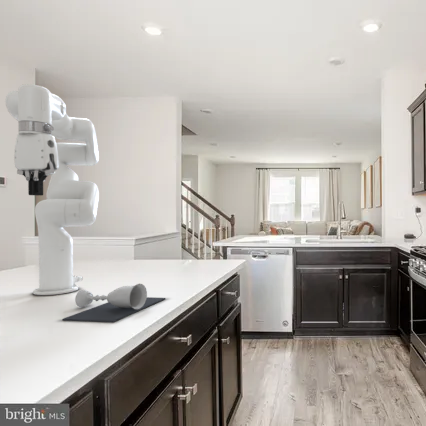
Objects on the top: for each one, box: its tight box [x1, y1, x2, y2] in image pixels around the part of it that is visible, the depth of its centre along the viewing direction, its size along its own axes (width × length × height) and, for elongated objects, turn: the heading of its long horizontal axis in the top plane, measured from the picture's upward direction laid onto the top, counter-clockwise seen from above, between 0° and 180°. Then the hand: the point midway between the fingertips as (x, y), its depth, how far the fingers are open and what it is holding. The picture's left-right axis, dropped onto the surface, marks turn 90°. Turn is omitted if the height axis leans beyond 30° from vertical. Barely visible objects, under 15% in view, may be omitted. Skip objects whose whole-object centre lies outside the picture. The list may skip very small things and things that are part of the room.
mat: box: [62, 296, 166, 323], centre depth 105 cm, size 24×14×1 cm, turn 173°
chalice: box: [74, 283, 148, 309], centre depth 104 cm, size 7×7×18 cm
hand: (35, 195), depth 105 cm, fingers closed
